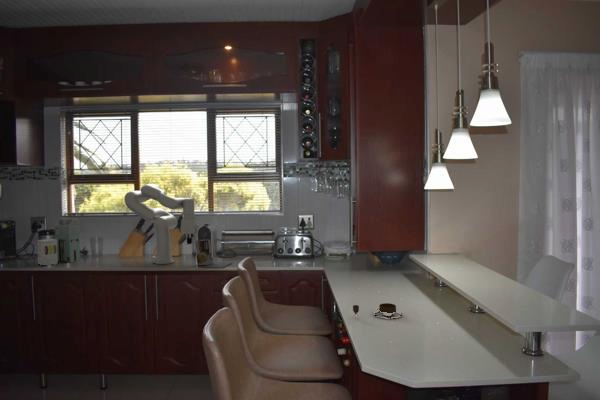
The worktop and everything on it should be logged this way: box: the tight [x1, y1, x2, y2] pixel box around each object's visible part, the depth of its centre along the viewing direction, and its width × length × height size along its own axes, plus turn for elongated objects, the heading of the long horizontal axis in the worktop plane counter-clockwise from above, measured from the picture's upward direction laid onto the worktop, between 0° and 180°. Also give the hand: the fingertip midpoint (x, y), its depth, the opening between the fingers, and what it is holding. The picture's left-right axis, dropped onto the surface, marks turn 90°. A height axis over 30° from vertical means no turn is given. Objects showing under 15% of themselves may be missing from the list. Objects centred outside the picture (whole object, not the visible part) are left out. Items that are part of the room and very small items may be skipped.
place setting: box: [352, 303, 397, 315], centre depth 202 cm, size 18×20×6 cm
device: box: [54, 217, 81, 263], centre depth 335 cm, size 16×8×30 cm, turn 60°
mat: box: [203, 261, 233, 269], centre depth 314 cm, size 12×17×1 cm
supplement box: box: [36, 238, 58, 266], centre depth 323 cm, size 10×9×17 cm
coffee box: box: [194, 238, 214, 266], centre depth 317 cm, size 9×6×16 cm
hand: (189, 243), depth 319 cm, fingers closed
